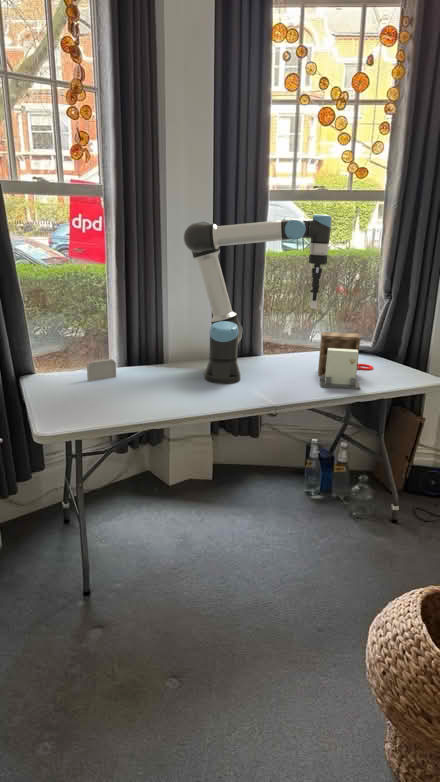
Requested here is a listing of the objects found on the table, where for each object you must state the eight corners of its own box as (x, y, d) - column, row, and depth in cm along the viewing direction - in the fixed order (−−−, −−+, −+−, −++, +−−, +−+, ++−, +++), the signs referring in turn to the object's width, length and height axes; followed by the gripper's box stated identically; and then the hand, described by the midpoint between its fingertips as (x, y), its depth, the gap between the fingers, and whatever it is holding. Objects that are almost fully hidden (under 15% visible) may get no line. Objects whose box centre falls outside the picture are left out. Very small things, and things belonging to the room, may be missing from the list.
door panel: (325, 383, 236) (328, 350, 231) (324, 380, 240) (327, 348, 236) (355, 385, 234) (358, 352, 230) (353, 382, 239) (357, 349, 235)
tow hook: (369, 366, 270) (350, 365, 269) (373, 339, 266) (354, 338, 265) (375, 371, 262) (356, 370, 261) (380, 344, 258) (360, 343, 257)
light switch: (116, 377, 239) (115, 359, 236) (89, 381, 232) (88, 362, 230) (114, 376, 240) (114, 358, 238) (87, 380, 234) (86, 361, 231)
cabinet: (318, 375, 250) (322, 335, 245) (318, 370, 258) (321, 331, 252) (355, 378, 249) (360, 337, 243) (354, 373, 256) (358, 333, 250)
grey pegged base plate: (320, 387, 234) (321, 377, 233) (319, 380, 244) (320, 371, 242) (360, 389, 232) (361, 380, 231) (357, 382, 242) (358, 373, 241)
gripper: (328, 257, 221) (322, 311, 227) (327, 252, 244) (321, 301, 251) (309, 255, 222) (303, 309, 228) (309, 251, 245) (304, 300, 252)
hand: (313, 305), depth 240 cm, fingers open, 13 cm apart
